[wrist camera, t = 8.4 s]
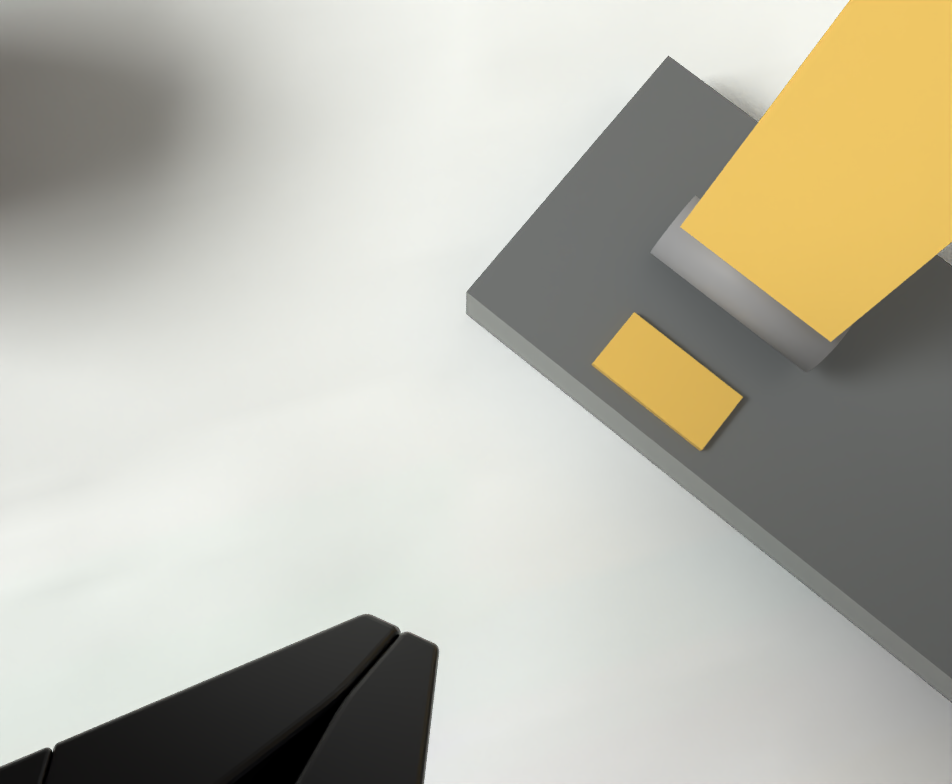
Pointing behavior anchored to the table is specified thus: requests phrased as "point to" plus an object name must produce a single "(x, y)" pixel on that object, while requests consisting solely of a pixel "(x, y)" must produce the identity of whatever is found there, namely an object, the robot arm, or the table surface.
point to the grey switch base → (744, 376)
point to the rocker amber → (831, 184)
